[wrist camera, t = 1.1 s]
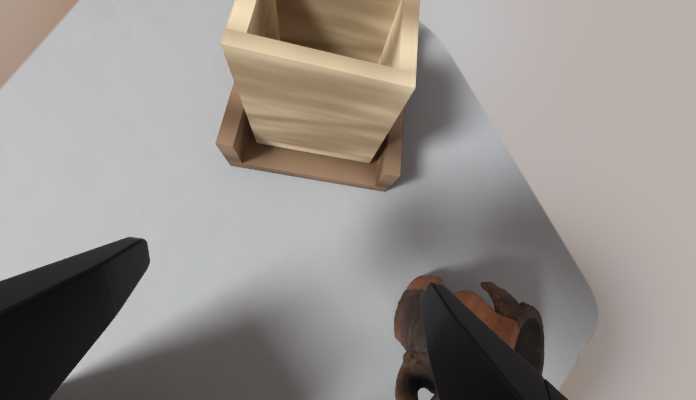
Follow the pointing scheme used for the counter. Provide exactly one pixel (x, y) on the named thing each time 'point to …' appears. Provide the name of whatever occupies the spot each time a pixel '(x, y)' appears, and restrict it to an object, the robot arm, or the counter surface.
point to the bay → (307, 154)
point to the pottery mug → (506, 321)
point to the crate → (323, 71)
